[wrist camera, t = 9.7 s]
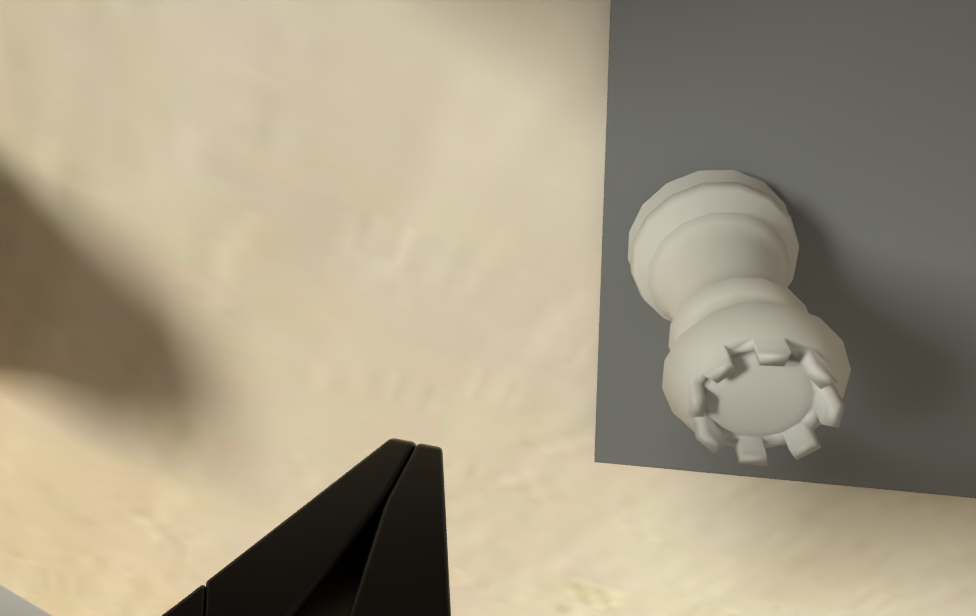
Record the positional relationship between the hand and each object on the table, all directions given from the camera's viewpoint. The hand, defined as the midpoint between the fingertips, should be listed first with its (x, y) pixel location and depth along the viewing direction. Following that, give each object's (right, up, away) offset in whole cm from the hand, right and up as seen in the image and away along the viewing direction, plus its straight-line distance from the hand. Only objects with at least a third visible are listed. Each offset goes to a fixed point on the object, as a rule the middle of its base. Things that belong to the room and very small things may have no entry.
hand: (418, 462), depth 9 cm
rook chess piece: (+8, +5, +8) cm, 12 cm away
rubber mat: (+12, +5, +7) cm, 14 cm away
